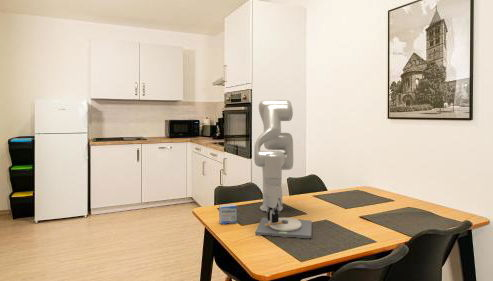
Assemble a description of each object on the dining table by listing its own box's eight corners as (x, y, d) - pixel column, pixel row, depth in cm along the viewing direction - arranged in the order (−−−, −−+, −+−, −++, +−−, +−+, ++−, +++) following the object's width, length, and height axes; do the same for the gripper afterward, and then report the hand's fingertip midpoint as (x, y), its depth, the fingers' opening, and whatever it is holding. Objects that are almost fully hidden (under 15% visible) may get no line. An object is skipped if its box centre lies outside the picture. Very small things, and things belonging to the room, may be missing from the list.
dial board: (262, 220, 160) (262, 217, 160) (311, 223, 155) (311, 220, 155) (255, 235, 141) (255, 231, 141) (311, 239, 136) (311, 235, 136)
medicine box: (220, 224, 154) (220, 207, 154) (219, 221, 159) (218, 204, 158) (236, 223, 157) (236, 205, 156) (234, 220, 161) (234, 203, 160)
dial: (291, 218, 157) (291, 203, 157) (307, 228, 143) (307, 211, 143) (259, 222, 152) (259, 206, 151) (272, 233, 138) (272, 216, 137)
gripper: (257, 178, 150) (257, 217, 151) (275, 185, 135) (275, 228, 137) (271, 177, 153) (271, 214, 155) (290, 183, 138) (290, 225, 140)
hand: (273, 220), depth 146 cm, fingers closed on dial, 2 cm apart
